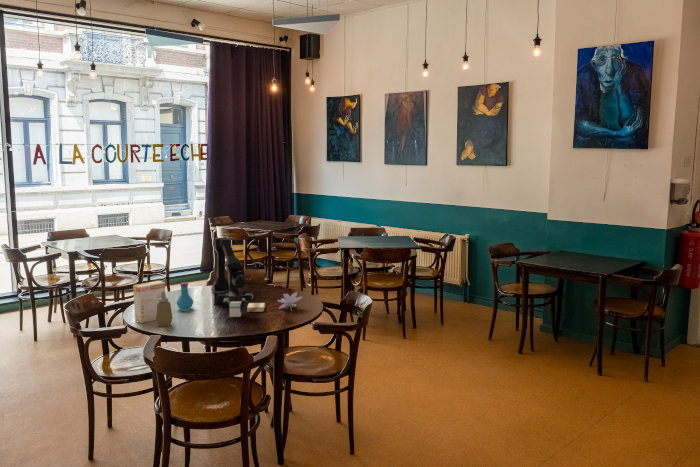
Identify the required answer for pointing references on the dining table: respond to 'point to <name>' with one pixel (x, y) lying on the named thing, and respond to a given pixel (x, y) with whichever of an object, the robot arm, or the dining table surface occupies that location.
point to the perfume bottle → (184, 298)
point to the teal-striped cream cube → (235, 309)
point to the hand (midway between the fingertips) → (235, 312)
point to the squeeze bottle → (164, 311)
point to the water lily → (289, 300)
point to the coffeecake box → (147, 300)
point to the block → (255, 307)
